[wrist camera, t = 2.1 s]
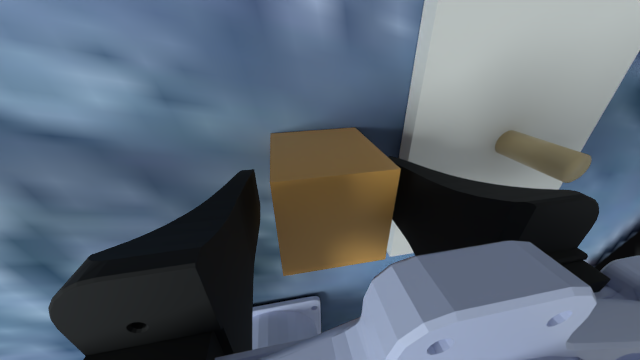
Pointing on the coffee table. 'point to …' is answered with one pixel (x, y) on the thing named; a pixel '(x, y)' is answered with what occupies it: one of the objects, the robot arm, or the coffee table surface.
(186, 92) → the coffee table surface
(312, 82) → the coffee table surface
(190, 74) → the coffee table surface
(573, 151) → the plate
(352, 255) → the tan cardboard-like box
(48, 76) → the coffee table surface
